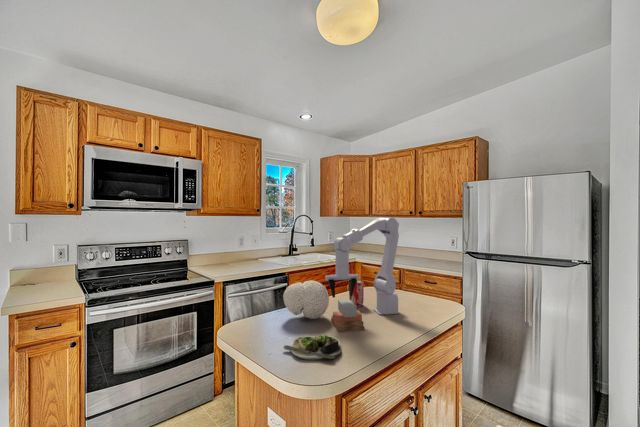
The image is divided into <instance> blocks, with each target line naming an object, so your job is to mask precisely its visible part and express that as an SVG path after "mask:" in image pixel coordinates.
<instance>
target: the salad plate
mask: <svg viewBox="0 0 640 427" xmlns="http://www.w3.org/2000/svg"><path fill="white" fill-rule="evenodd" d="M283 349H284V350H287V351H290V352H291V353H292V354H293V355H294V356H296V358H297V357H298V358H299V359H303V360H312V361H313V360H315V361H330V360H334V359H336V358H339V356H340V355H341V354H342V346H341V341H340V339H339V338H337V337H336V336H334V335H333V336H332V335H325V334H323V335H320V334H319V335H303V336H298V337H297V338H296V339H294V340H293V342H292V346H291V345H284V346H283Z"/></svg>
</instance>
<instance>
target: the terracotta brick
mask: <svg viewBox="0 0 640 427" xmlns="http://www.w3.org/2000/svg"><path fill="white" fill-rule="evenodd" d="M332 316H333V322H334V324H335V326H336V323H338V322H353V321H363V313H362V312H360V310H357V316H356V317H344V316H343V315H342V314H341V312H340V311H339V310H338V311H332Z"/></svg>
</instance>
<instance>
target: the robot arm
mask: <svg viewBox="0 0 640 427" xmlns="http://www.w3.org/2000/svg"><path fill="white" fill-rule="evenodd" d="M399 226H400V223H399V222H398V220H397V219H396V218H394V217H381V216H380V217H378V218H375V219H373V220H372V221H371V222H369V223H368V224H366V225H365V226H363V227H362V228H360V229H357V228H353V229H351V230H350V232H348V233H346V234H345V233H344V234H342V237H337V238H335V239H334V241H333V243H332V246H333V249H334V250H335V252H334V253H335V254H334V255H335V274H329V275H327V274H326V275H325V276H324V278H325V281H327V283H328V285H329V287H330V291H331V295H332V298H335V297H336V291H335V289H336V282H335V281H341V280H343V281H344V280H346V281H347V280H348V288H349V290H348V291H349V295H348V296H351V297H352V294H353V290H354V287H355V285H356V284H357V280H359V279H360V278H359V277H360V276H359V274H358V273H357V274H353V273H349V272H350V270H349V269H350V264H349V258H350V257H349V255H350V254H349V252H350V250H351V248H352V247H353V246H355V245H357V244H358V243H360V242H362V241H363V238H364V237H365V236H367V235H369V234H371V233H372V232H375V231H376V230H378V232H380V233H381V234H383V236H384V237H385V239H386V240H385V245H384V248H383V256H382V259H381V260H382V262H381V266H380V271H378V272H377V273H376V276H375V279H374V280H373V288H374V289H375V292H376V307H375V308H373V310H374V311H375V312H376V313H377V314H378V315H380V316H381V315H397V314H399V313H400V312H399V297H398V294H397V293H396V288H397V285H396V277H395V275H394V273H393V272H394V266H395V261H396V256H397V255H396V254H397V249H398V243H399V237H400V236H399Z"/></svg>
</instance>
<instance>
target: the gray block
mask: <svg viewBox="0 0 640 427" xmlns="http://www.w3.org/2000/svg"><path fill="white" fill-rule="evenodd" d="M337 302H338V304H337V310H338V311H340V312H341V314H342V315H343V316H344V317H356V316H357V308H358V307H357V306H356V305H355V304H354V303H353V302H352V301H351V300H350V299H348V298H347V299H339V300H338V301H337Z"/></svg>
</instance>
